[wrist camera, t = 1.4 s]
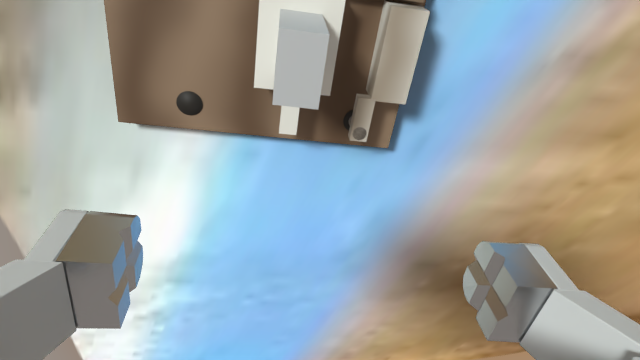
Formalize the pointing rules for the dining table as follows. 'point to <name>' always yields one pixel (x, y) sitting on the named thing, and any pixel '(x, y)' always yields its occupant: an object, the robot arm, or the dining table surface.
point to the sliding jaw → (297, 53)
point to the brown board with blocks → (239, 68)
